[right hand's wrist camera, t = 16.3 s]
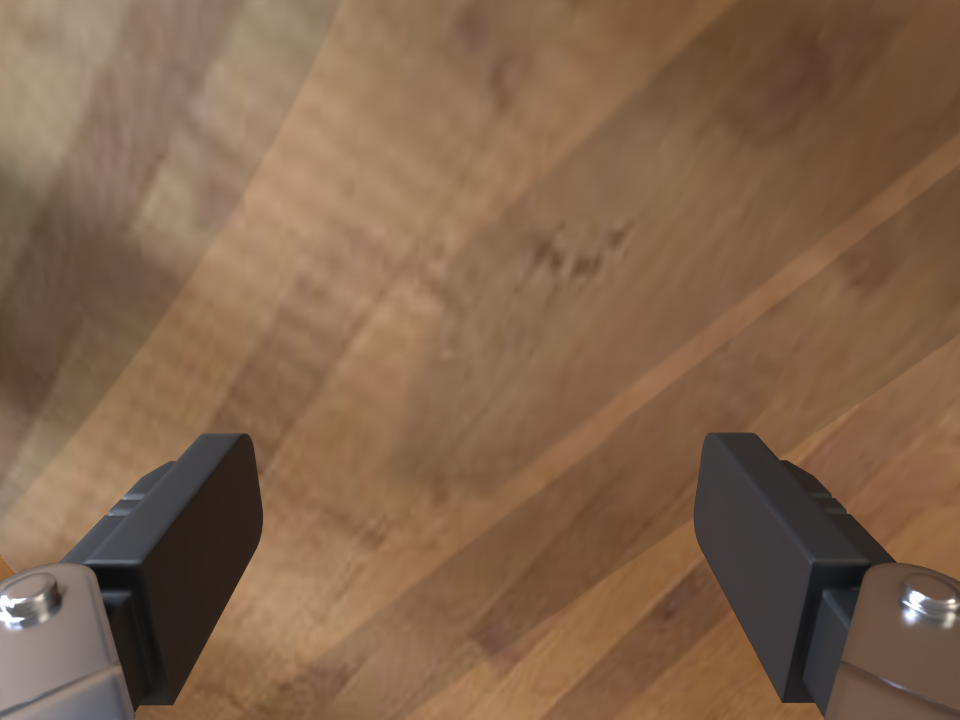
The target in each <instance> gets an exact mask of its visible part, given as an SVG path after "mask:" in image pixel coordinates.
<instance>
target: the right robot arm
mask: <svg viewBox="0 0 960 720" xmlns="http://www.w3.org/2000/svg"><path fill="white" fill-rule="evenodd" d="M262 526H263V509H262V502H261V495H260V488H259V481H258V474H257V467H256V459H255V452H254V446H253V442H252V440H251V438H250V436H249V435H248V434H202V435H200V436H199V437H198V438H197V439H196V440H195V441H194V443H193V444H192V445H191V446H190V447H189V448H188V449H187V450H186V451H185V452H184V453H183V455H182V456H181V457H180V458H179V459H178V460H177V461H169V462H168V463H166V464H164V465H162V466H161V467H159V468H157V469H156V470H154V471H152V472H150V473H149V474H147V475H145V476H143V477H142V478H141V479H140V480H139V481H138V482H137V483H136V484H135V485H134V486H133V487H132V488H131V489H130V490H129V491H128V492H127V493H126V494H125V495H124V500H120V501H119V502H118V503H117V504H116V505H115V506H114V507H113V508H112V509H111V510H110V511H109V515H108V516H104V517H103V518H102V519H101V520H100V521H99V522H98V523H97V524H96V525H95V526H94V527H93V528H92V529H91V530H90V531H89V532H88V533H87V535H86V536H85V537H84V538H83V539H82V540H81V541H80V542H79V543H78V544H77V545H76V546H75V547H74V548H73V549H72V550H71V551H70V552H69V553H68V554H67V555H66V556H65V557H64V558H63V559H62V560H61V561H60V562H59V563H55V564H48V565H43V566H38V567H35V568H32V569H28V570H25V571H23V572H20V573H17V574H15V575H13V576H10V577H8V578H6V579H4V580H2V581H0V720H136V718H135V714H134V713H135V712H136V710H137V708H138V707H139V705H173V704H174V702H175V700H176V699H177V697H178V695H179V693H180V691H181V689H182V687H183V685H184V684H185V682H186V680H187V678H188V676H189V674H190V672H191V670H192V669H193V667H194V665H195V663H196V661H197V659H198V657H199V655H200V654H201V652H202V650H203V648H204V646H205V644H206V642H207V640H208V639H209V637H210V635H211V633H212V631H213V629H214V627H215V625H216V624H217V622H218V620H219V618H220V616H221V614H222V612H223V610H224V609H225V607H226V605H227V603H228V601H229V599H230V597H231V595H232V594H233V592H234V590H235V588H236V586H237V584H238V582H239V580H240V578H241V577H242V575H243V573H244V571H245V569H246V567H247V565H248V563H249V562H250V560H251V558H252V556H253V554H254V552H255V550H256V548H257V546H258V544H259V541H260V537H261V533H262ZM694 527H695V533H696V537H697V541H698V544H699V546H700V548H701V550H702V552H703V554H704V556H705V557H706V559H707V561H708V563H709V565H710V567H711V569H712V571H713V573H714V575H715V576H716V578H717V580H718V582H719V584H720V586H721V588H722V590H723V592H724V594H725V595H726V597H727V599H728V601H729V603H730V605H731V607H732V609H733V611H734V613H735V614H736V616H737V618H738V620H739V622H740V624H741V626H742V628H743V630H744V632H745V633H746V635H747V637H748V639H749V641H750V643H751V645H752V647H753V649H754V651H755V652H756V654H757V656H758V658H759V660H760V662H761V664H762V666H763V668H764V670H765V671H766V673H767V675H768V677H769V679H770V681H771V683H772V685H773V687H774V689H775V690H776V692H777V694H778V696H779V698H780V700H781V702H782V703H816V705H817V707H818V708H819V710H820V712H821V713H822V715H823V717H824V720H960V581H958V580H956V579H954V578H952V577H950V576H947V575H945V574H943V573H940V572H937V571H935V570H932V569H928V568H925V567H922V566H917V565H912V564H905V563H897V562H896V561H895V560H894V559H893V558H892V557H891V556H890V555H889V554H888V553H887V552H886V551H885V550H884V549H883V548H882V547H881V545H880V544H879V543H878V542H877V541H876V540H875V539H874V538H873V537H872V536H871V535H870V534H869V533H868V532H867V531H866V530H865V529H864V528H863V527H862V526H861V525H860V524H859V523H858V522H857V521H856V519H855V518H854V517H853V516H852V515H851V514H847V513H846V509H845V508H844V507H843V506H842V505H841V504H840V503H839V502H838V501H837V500H836V499H835V498H832V497H831V493H830V492H829V491H828V490H827V489H826V488H825V487H824V486H823V485H822V484H821V483H820V482H819V481H818V480H817V479H816V478H815V477H814V476H813V475H811V474H809V473H808V472H806V471H804V470H802V469H801V468H799V467H797V466H795V465H794V464H792V463H790V462H789V461H787V460H779V459H778V458H777V457H776V456H775V455H774V454H773V452H772V451H771V450H770V449H769V448H768V447H767V446H766V445H765V444H764V442H763V441H762V440H761V439H760V438H759V437H758V436H757V435H756V434H754V433H709V434H708V435H707V436H706V438H705V440H704V443H703V448H702V456H701V463H700V470H699V477H698V484H697V491H696V499H695V506H694Z"/></svg>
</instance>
